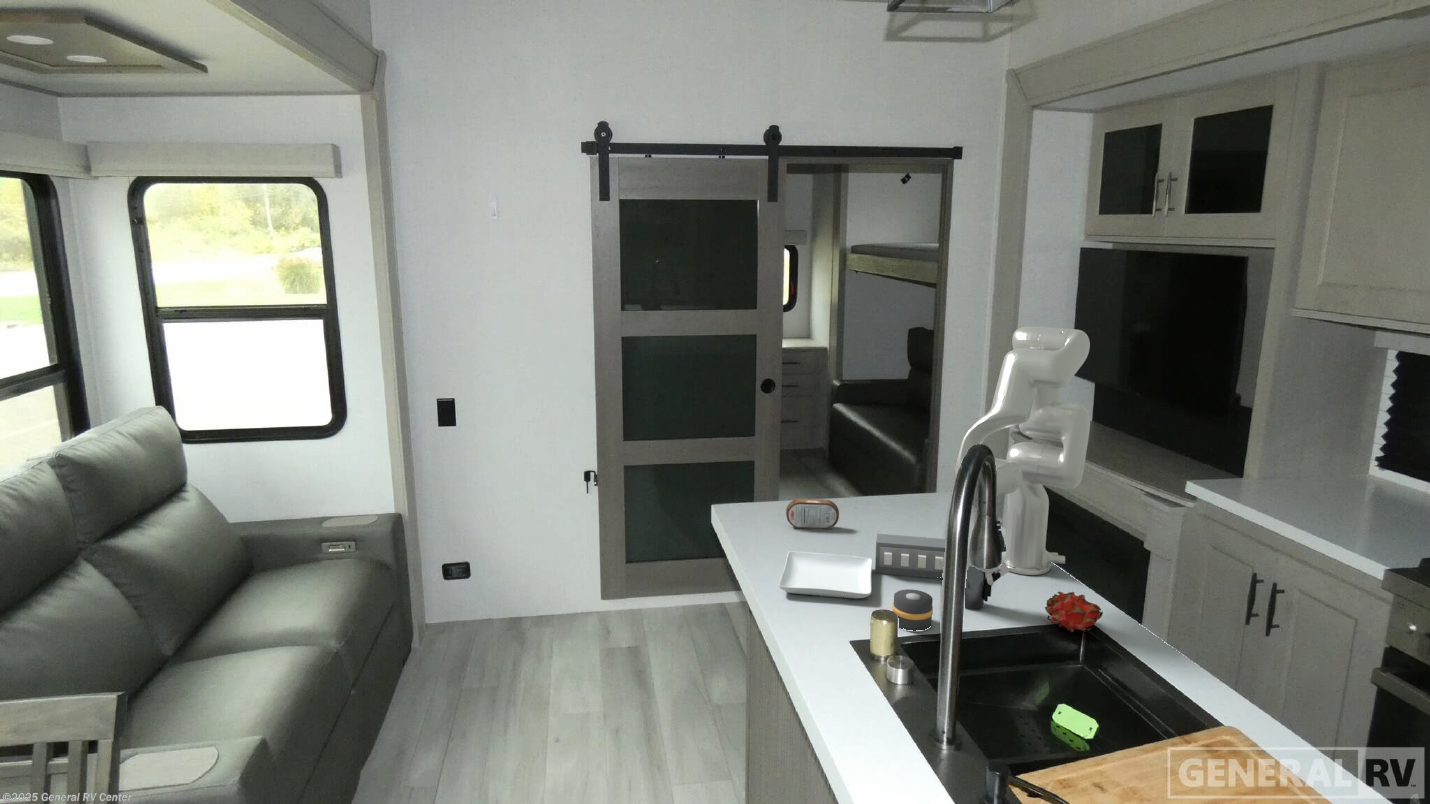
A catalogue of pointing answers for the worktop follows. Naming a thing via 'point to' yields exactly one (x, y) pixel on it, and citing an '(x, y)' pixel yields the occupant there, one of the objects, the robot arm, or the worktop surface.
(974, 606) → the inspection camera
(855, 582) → the salad plate
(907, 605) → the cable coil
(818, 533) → the worktop surface
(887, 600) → the worktop surface
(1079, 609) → the dragon fruit
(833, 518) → the tin
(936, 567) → the breaker panel
